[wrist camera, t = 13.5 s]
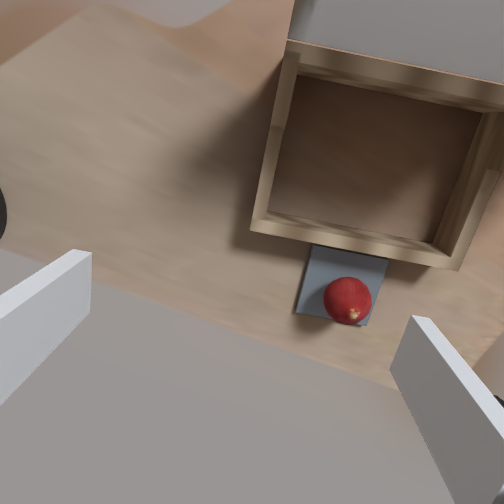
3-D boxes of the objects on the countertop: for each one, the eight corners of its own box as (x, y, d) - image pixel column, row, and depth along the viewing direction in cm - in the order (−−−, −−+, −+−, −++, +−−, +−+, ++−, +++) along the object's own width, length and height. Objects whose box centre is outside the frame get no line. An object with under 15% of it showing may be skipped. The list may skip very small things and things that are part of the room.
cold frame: (251, 219, 46) (248, 238, 38) (283, 56, 39) (286, 40, 32) (439, 256, 46) (472, 282, 39) (501, 101, 40) (555, 96, 32)
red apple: (363, 304, 48) (381, 338, 41) (321, 308, 49) (330, 342, 41) (362, 265, 46) (380, 292, 39) (318, 269, 47) (327, 297, 39)
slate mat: (295, 308, 50) (295, 312, 49) (312, 242, 47) (313, 245, 46) (364, 322, 50) (366, 326, 49) (387, 257, 47) (389, 260, 46)
